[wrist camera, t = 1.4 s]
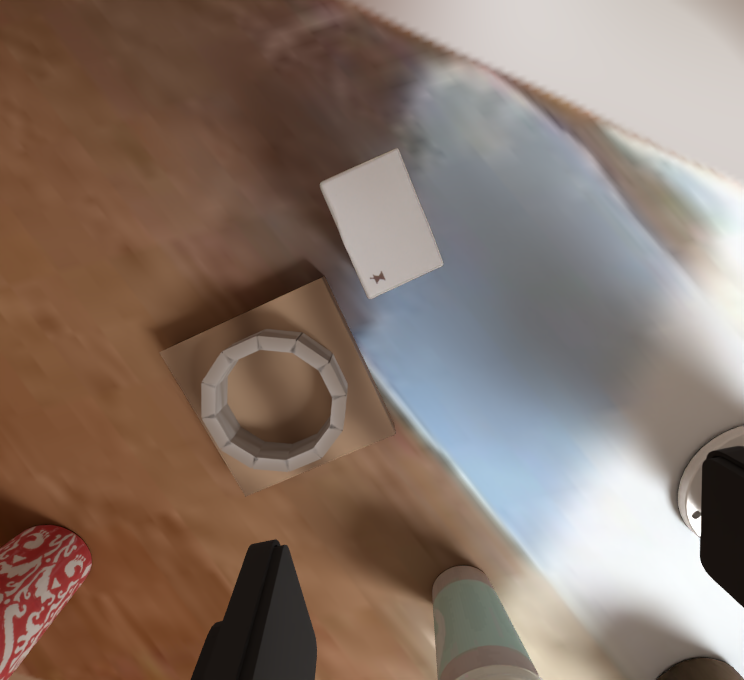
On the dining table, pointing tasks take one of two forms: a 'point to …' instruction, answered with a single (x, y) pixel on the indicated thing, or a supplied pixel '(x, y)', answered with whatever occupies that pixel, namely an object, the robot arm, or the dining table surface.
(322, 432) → the ring stand
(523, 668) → the coffee cup
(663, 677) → the pillar candle
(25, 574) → the mug
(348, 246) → the skincare box
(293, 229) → the dining table surface
